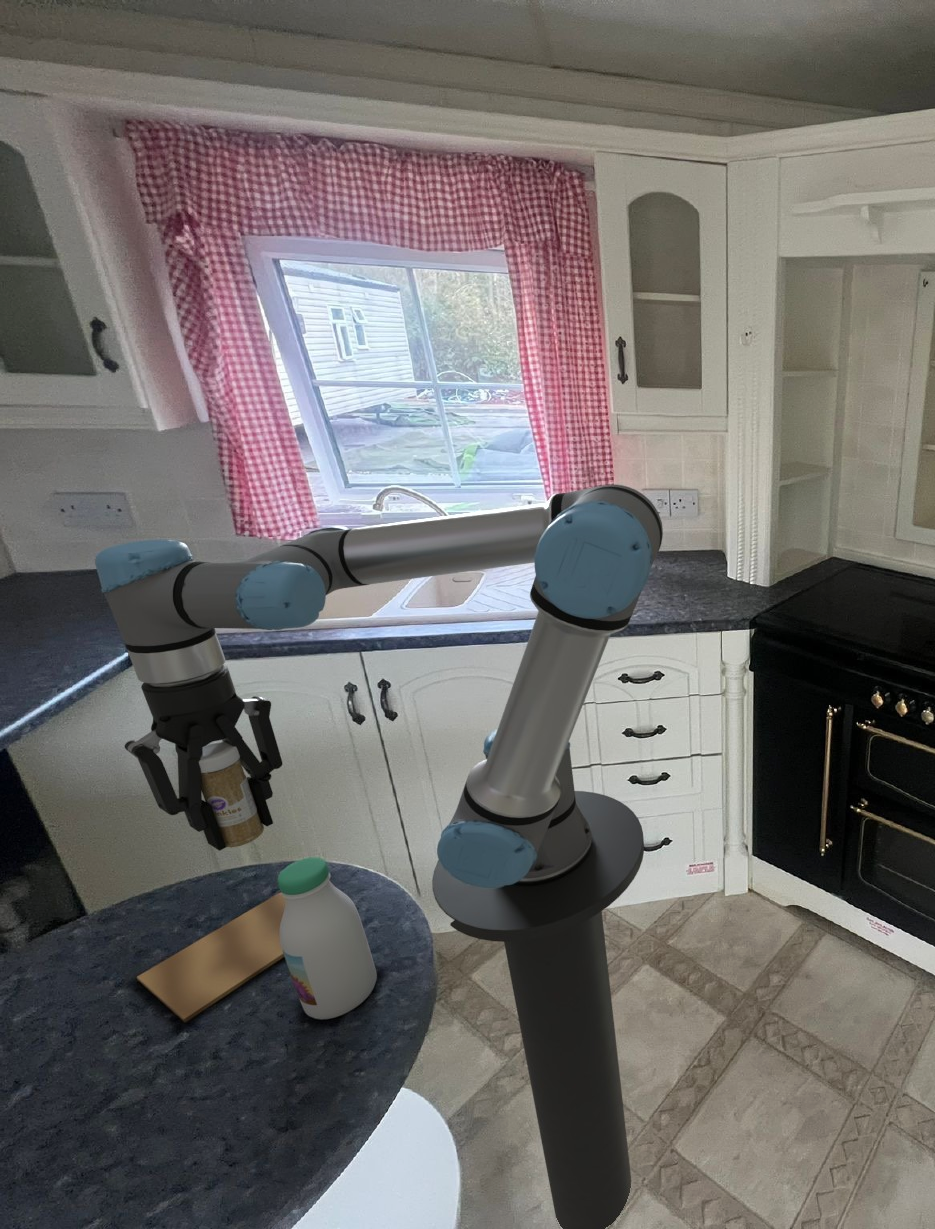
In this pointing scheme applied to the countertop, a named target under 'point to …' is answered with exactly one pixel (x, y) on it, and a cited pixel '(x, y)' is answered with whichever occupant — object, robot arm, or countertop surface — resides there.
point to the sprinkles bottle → (229, 794)
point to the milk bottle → (323, 941)
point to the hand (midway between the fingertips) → (241, 832)
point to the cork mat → (219, 961)
